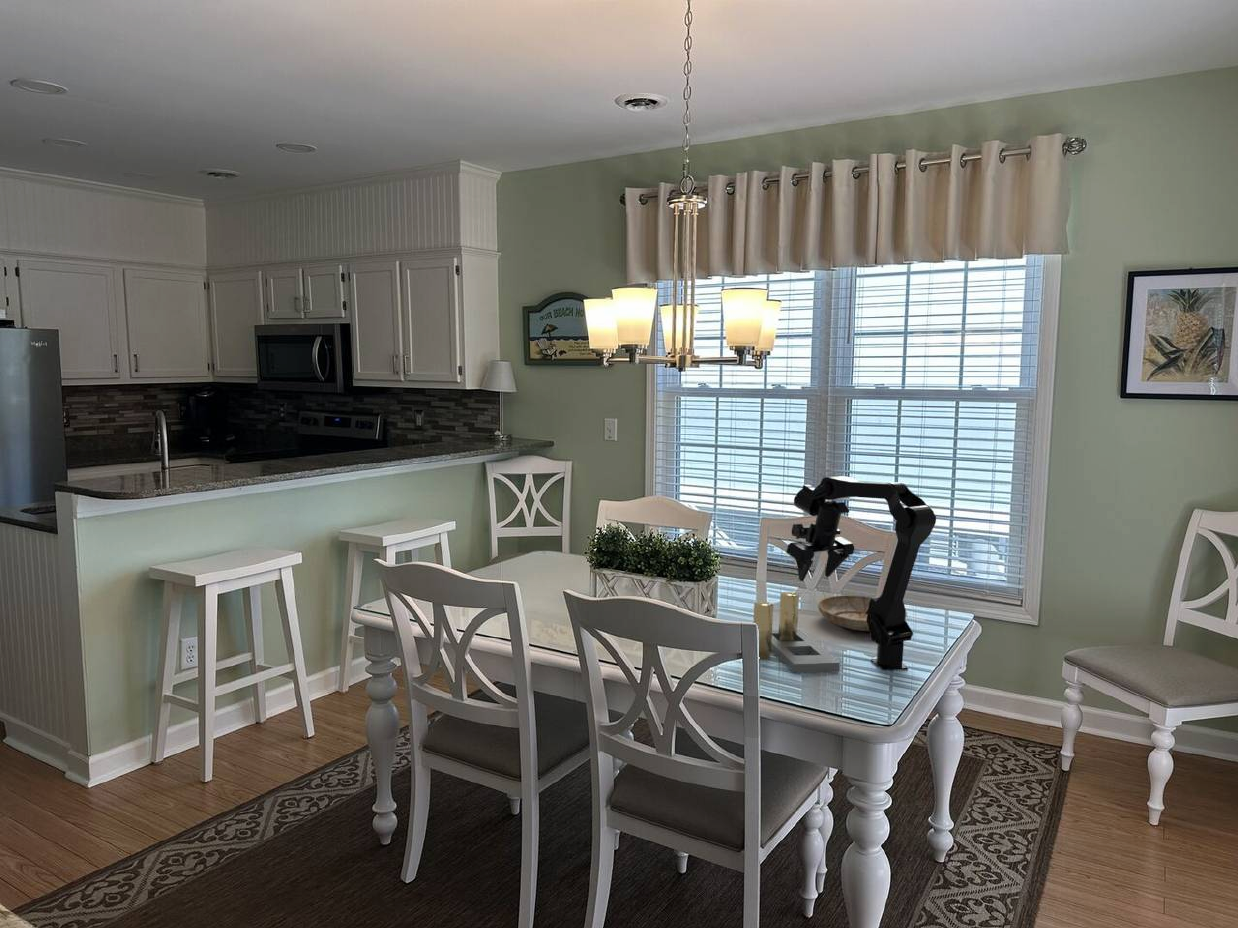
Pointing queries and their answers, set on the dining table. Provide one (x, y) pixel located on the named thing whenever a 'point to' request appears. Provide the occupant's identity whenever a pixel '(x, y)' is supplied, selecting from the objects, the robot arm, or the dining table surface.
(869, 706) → the dining table surface
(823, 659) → the frame
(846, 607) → the ceramic bowl
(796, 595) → the cylinder
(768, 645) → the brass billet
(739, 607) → the dining table surface
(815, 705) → the dining table surface
